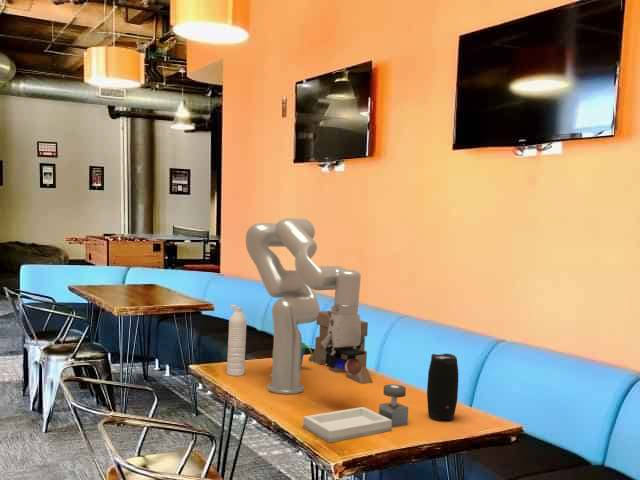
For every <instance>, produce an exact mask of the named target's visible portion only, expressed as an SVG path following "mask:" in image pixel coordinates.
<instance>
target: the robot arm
mask: <svg viewBox="0 0 640 480" xmlns="http://www.w3.org/2000/svg"><path fill="white" fill-rule="evenodd" d="M315 231H316V230H315V227H314V225H313V223H312V222H311V221H309V219H304V218H294V217H293V218H290V217H289V218H283V219H279V220H278V222H277V223H275V222H274V223H273V222H260V223H254V224H252V225H251V226H249V228H247V231H246V234H245V245H246V250H247V252H248V255H249V257H250V258H251V260H252V262H253V263H254V265H255V266H256V269H257V272H258V273H259V277H260V279H261V281H262V283H263V286H264V288H265V291H266V292H267V294H268V295H269V296H270V297H272V298H274V299H275V298H276V299H277V300H275V302H274V303H273V305H272V309H271V314H272V321H273V347H272V351H273V359H272V371H271V372H272V373H270V374H269V377H270V379H271V382H269V383H267V384H266V385H267V386H266V389H267V390H268V392H271V393H275V394H282V395H293V394H299V393H302V392H303V391H304V390H305V385H304V384H302V383H300V381H301V380H300V378H301V369H300V364H301V342H302V333H301V331H300V329H299V327H298V325H303V324H310V323H313V322H316V321H317V318H318V317H319V314H320V311H321V310H320V308H321V307H320V305H319V304H320V303H319V301H318V299H317V297H316V295H315V292H314V291H334V300H333V302H334V303H333V306H331V307H330V311H333V313H332V315H331V318H330V322H329V327H328V335H327V336H326V337H325V338H324V339H323V340H322V341H321V345H322V346H323V348H324V350H325V351H326V353H327V354H328V360H327V365H328V366H329V367H331V368H335V360H336V356H335V355H334V354H335V352H336V350H337V348H344V347H349V348H353V349H356V350H359V349H360V347H361V345H362V344H363V343H364V341H365V342H366V339H365V340H364V339H363V338H362V337H361V321H362V320H361V317H360V314H359V303H360V302H359V300H360V290H361V289H360V288H361V279H362V278H361V277H362V276H361V273H360V272H359V271H358V270H354V269H346V268H344V267H342V266H338V265H329V266H328V265H321V266H318V265H316V263H314V260H312V259H311V258H313V257H314V256H315V254H316V252H317V249H318V246H317V242H316V241H315V240H314V238H315V236H316V235H315V233H316V232H315ZM273 247H274V248H275V247H276V248H281V247H282V248H286V249H287V250H288V251H289V252H290V253H291V255H292V256H293V257H294V264H295V265H294V266H295V270H293V269H292V270H290V269H289V270H287V269H285V268H284V266H283V264H282V263H281V260H280V259H279V257H278V256H277V254H276V253H275V252H274V251H272V250H271V249H270V248H273ZM360 320H361V321H360ZM302 343H303V342H302ZM327 343H328V344H330V345H329V347H328V345H327ZM332 348H333V349H332ZM355 357H356V356H352V357H350V356H348V358H347V360H349V359H352V358H354V359H355ZM328 366H327V367H328ZM329 367H328V368H329Z"/></svg>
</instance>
